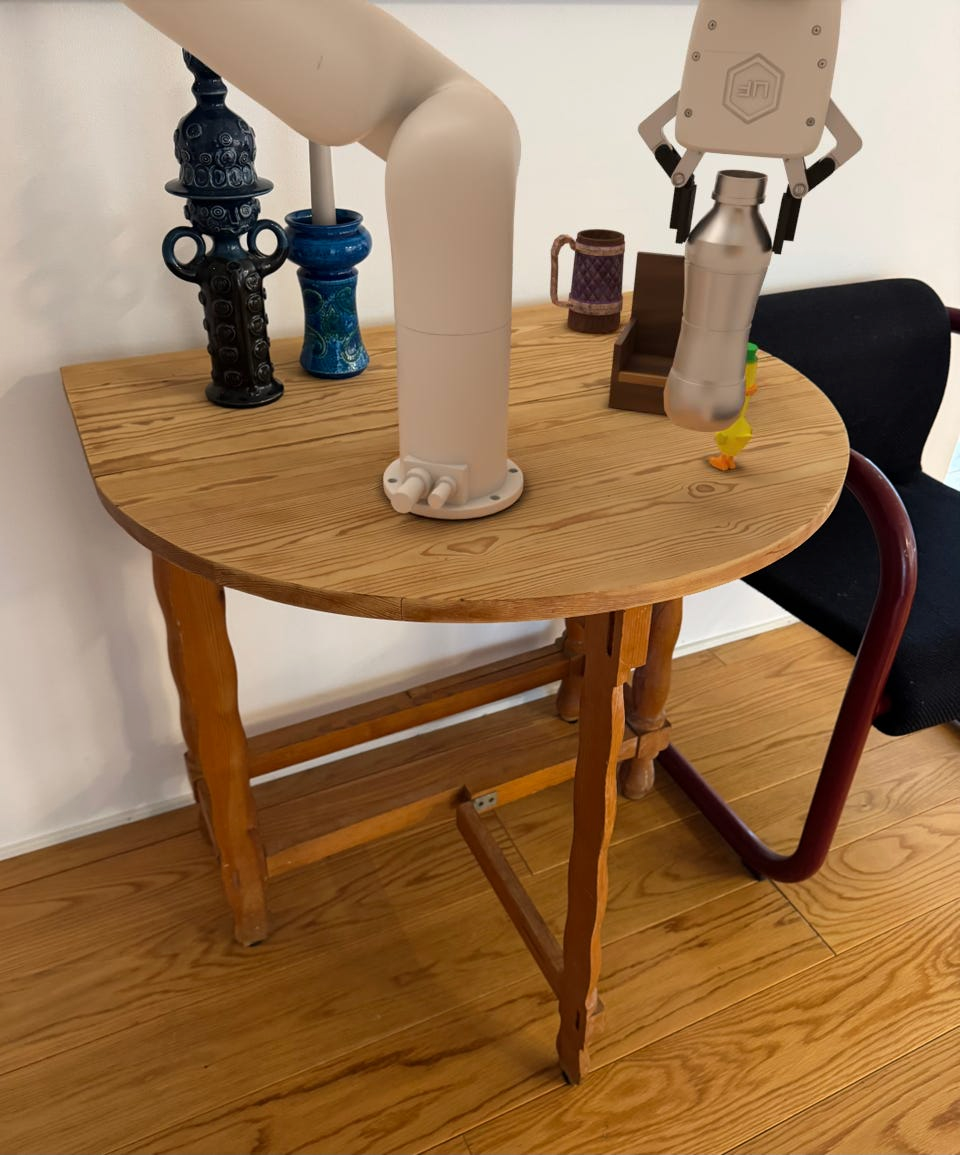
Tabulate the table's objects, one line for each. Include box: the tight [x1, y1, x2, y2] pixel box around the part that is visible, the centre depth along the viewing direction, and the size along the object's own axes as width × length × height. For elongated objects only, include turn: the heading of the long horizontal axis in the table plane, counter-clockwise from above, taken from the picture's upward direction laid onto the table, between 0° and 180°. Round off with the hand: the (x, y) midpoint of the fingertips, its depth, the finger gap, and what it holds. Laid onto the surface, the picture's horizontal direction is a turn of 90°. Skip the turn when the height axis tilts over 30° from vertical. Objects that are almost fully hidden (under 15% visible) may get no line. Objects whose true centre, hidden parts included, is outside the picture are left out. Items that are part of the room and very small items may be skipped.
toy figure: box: [709, 342, 759, 472], centre depth 87 cm, size 7×4×12 cm, turn 30°
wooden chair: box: [607, 250, 685, 416], centre depth 101 cm, size 10×11×14 cm
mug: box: [549, 228, 626, 335], centre depth 121 cm, size 10×7×12 cm
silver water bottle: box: [664, 169, 774, 433], centre depth 75 cm, size 6×7×20 cm
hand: (729, 242), depth 72 cm, fingers closed on silver water bottle, 6 cm apart
